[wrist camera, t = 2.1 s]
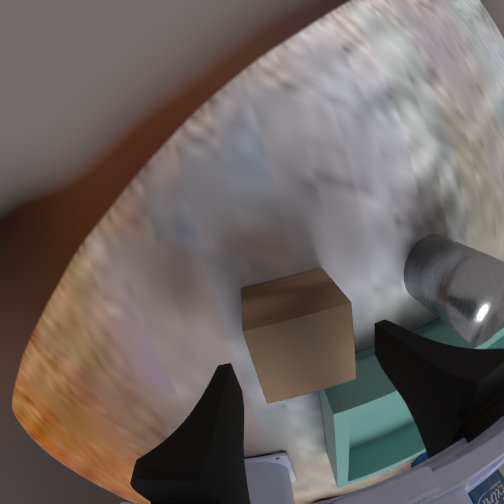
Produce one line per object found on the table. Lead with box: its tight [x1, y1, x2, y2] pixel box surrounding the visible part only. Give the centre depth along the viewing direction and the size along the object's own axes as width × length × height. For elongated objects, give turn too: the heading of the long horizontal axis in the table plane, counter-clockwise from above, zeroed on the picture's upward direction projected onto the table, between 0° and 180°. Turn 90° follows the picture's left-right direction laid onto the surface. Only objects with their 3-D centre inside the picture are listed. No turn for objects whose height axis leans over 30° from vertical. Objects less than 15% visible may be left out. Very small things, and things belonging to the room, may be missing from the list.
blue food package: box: [411, 452, 504, 504], centre depth 14 cm, size 6×12×25 cm, turn 74°
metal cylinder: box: [404, 235, 504, 346], centre depth 13 cm, size 5×5×7 cm
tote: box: [319, 318, 504, 488], centre depth 18 cm, size 18×14×5 cm
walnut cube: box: [241, 268, 356, 403], centre depth 15 cm, size 5×5×5 cm
